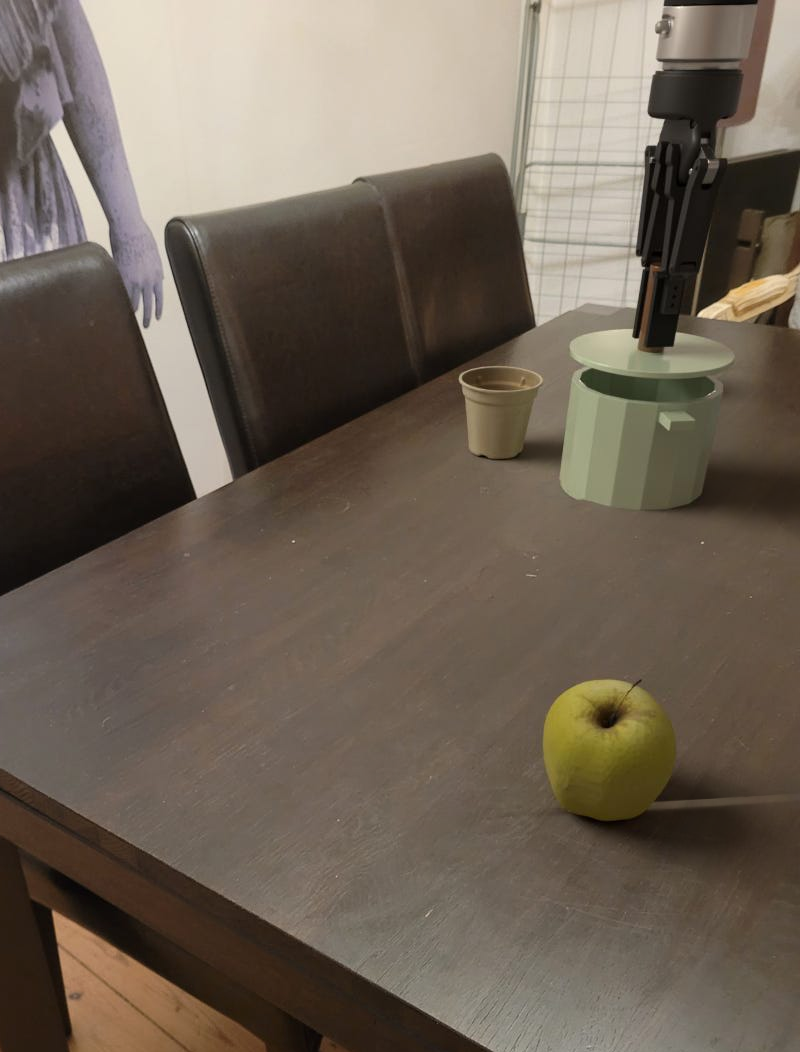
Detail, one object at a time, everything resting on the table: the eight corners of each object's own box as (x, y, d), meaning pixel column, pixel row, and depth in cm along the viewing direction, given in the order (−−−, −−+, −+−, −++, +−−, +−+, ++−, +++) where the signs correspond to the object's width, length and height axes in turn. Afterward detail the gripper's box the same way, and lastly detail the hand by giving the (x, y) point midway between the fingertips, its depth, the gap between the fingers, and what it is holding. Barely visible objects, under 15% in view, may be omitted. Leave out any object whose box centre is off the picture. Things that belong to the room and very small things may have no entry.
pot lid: (694, 338, 103) (711, 247, 98) (760, 382, 90) (784, 280, 85) (550, 342, 102) (560, 251, 97) (595, 388, 89) (610, 285, 84)
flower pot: (491, 471, 107) (498, 396, 103) (438, 447, 114) (442, 375, 109) (552, 453, 112) (561, 380, 107) (497, 431, 118) (503, 361, 114)
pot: (661, 450, 112) (679, 351, 106) (735, 522, 95) (761, 410, 89) (538, 455, 111) (549, 356, 105) (590, 529, 94) (607, 416, 88)
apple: (590, 725, 66) (644, 627, 59) (666, 817, 61) (735, 724, 54) (497, 761, 63) (542, 663, 55) (570, 861, 58) (629, 769, 51)
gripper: (626, 65, 89) (591, 323, 102) (692, 69, 76) (643, 365, 88) (704, 63, 89) (660, 321, 102) (784, 67, 76) (722, 363, 89)
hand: (652, 341), depth 95 cm, fingers closed on pot lid, 3 cm apart
